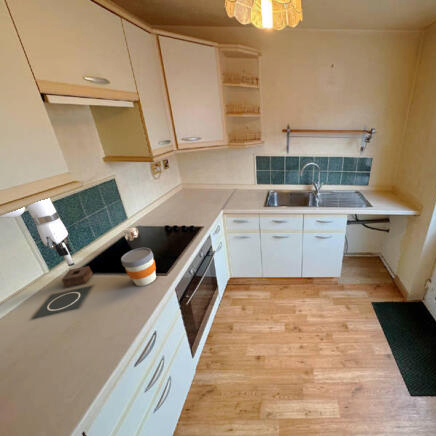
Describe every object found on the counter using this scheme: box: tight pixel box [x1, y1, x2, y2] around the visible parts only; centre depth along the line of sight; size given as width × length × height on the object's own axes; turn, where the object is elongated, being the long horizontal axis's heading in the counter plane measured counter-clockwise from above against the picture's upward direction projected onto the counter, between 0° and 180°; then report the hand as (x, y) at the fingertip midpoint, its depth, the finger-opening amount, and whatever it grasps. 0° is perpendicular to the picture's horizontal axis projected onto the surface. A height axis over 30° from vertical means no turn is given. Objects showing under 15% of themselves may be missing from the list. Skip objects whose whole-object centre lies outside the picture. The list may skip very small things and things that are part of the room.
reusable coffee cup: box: [120, 247, 157, 287], centre depth 109 cm, size 12×13×15 cm
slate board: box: [32, 285, 92, 320], centre depth 100 cm, size 15×14×1 cm
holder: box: [61, 265, 93, 288], centre depth 112 cm, size 8×8×5 cm
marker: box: [57, 242, 75, 267], centre depth 106 cm, size 2×2×12 cm
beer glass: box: [123, 226, 144, 250], centre depth 132 cm, size 7×7×15 cm
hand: (65, 253), depth 106 cm, fingers closed on marker, 2 cm apart
